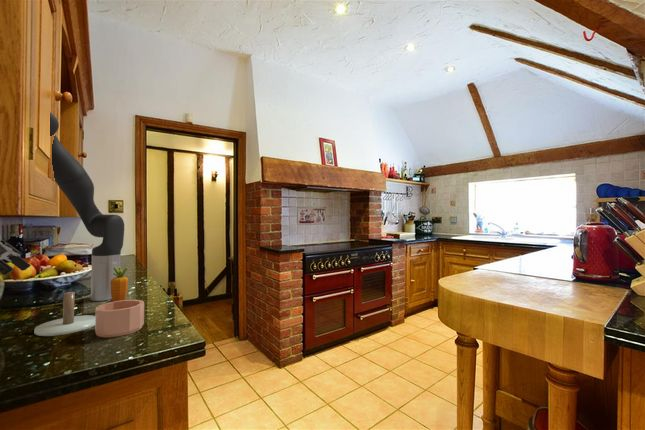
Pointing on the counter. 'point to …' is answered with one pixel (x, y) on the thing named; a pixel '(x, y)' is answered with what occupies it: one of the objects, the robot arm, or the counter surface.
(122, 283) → the carrot
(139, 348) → the counter surface
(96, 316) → the terracotta pot
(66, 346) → the counter surface
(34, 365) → the counter surface
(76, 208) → the robot arm
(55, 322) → the celadon lid
